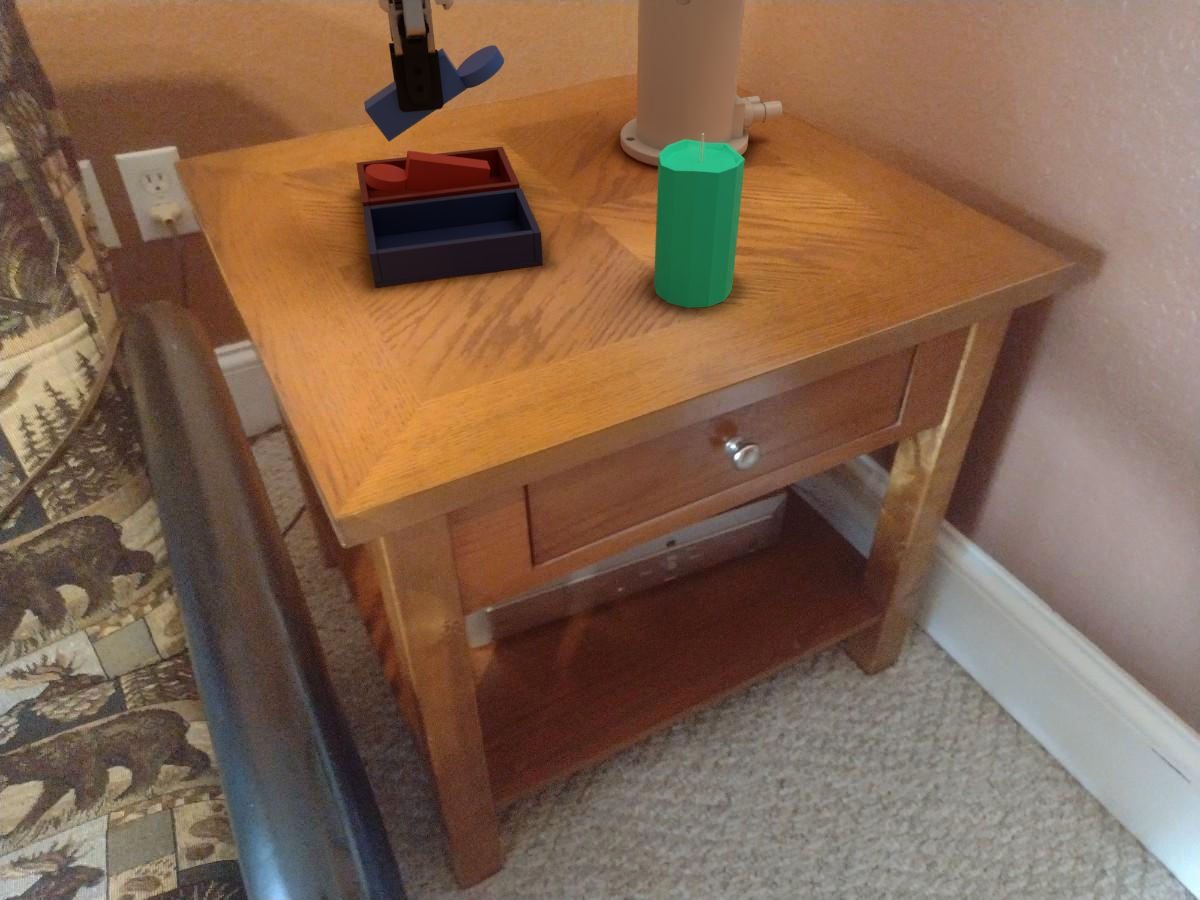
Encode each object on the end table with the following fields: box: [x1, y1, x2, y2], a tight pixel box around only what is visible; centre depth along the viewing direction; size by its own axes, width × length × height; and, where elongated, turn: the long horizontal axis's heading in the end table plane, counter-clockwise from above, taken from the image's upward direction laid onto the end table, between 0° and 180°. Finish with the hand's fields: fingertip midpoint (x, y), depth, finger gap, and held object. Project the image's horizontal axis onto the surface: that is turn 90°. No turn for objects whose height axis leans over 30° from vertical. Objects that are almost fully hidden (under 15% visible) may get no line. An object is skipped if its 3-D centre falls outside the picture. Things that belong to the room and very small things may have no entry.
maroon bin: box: [355, 146, 521, 208], centre depth 80 cm, size 13×8×3 cm, turn 105°
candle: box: [653, 133, 746, 309], centre depth 66 cm, size 6×6×12 cm
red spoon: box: [365, 150, 490, 192], centre depth 79 cm, size 10×4×3 cm, turn 104°
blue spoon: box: [363, 44, 505, 142], centre depth 67 cm, size 10×4×3 cm, turn 105°
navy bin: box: [362, 187, 544, 289], centre depth 74 cm, size 13×8×3 cm, turn 105°
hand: (420, 102), depth 67 cm, fingers closed on blue spoon, 1 cm apart
